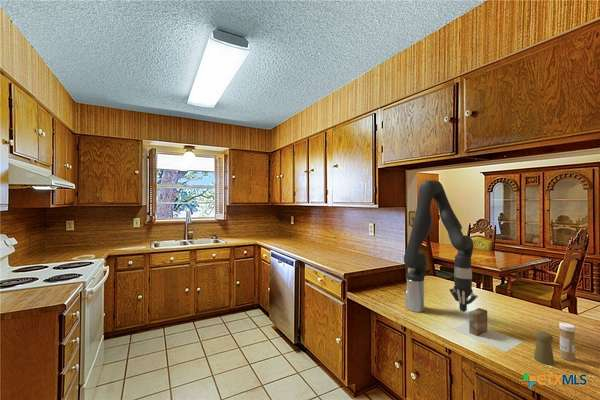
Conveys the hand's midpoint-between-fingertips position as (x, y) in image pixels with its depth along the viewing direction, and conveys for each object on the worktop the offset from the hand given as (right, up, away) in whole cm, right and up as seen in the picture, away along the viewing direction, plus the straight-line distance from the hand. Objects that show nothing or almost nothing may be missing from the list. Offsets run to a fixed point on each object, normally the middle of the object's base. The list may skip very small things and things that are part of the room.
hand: (463, 310), depth 133 cm
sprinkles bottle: (+25, -8, -26) cm, 38 cm away
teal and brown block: (+3, -8, -6) cm, 10 cm away
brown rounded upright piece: (+15, -8, -28) cm, 33 cm away
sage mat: (+5, -8, -9) cm, 13 cm away
